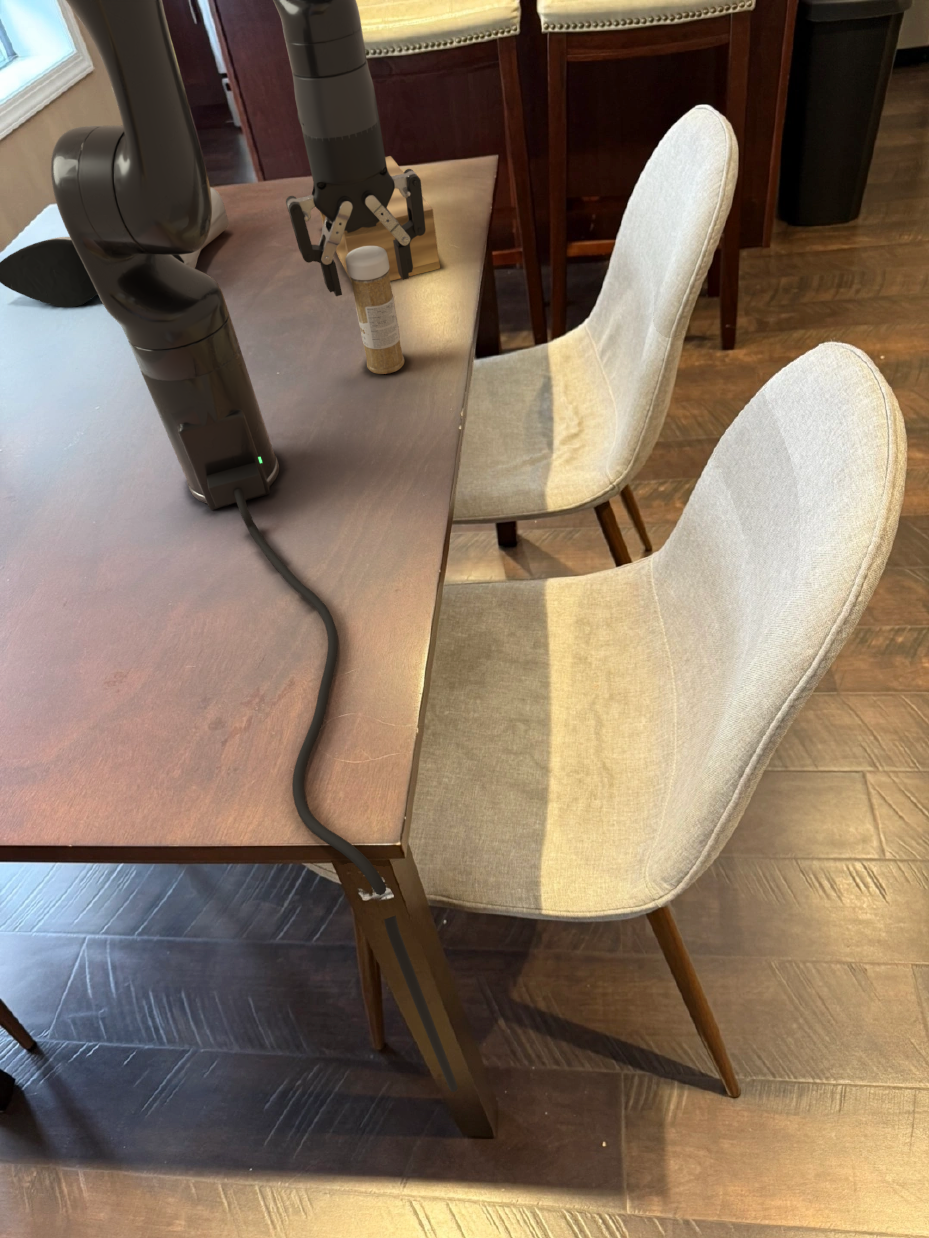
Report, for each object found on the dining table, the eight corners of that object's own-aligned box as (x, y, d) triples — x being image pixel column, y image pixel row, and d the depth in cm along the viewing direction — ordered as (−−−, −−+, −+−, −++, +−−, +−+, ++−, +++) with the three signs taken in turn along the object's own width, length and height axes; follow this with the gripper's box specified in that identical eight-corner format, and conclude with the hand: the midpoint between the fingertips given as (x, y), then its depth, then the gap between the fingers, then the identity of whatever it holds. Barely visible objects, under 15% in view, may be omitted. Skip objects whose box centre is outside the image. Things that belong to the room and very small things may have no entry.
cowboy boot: (163, 250, 112) (233, 176, 129) (-28, 237, 116) (64, 167, 133) (182, 317, 119) (246, 239, 136) (1, 303, 123) (85, 229, 140)
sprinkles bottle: (365, 359, 104) (343, 248, 94) (403, 352, 104) (384, 241, 94) (369, 379, 100) (345, 266, 91) (407, 372, 101) (388, 259, 91)
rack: (440, 268, 118) (432, 208, 112) (355, 289, 116) (343, 229, 111) (399, 211, 133) (390, 155, 127) (323, 229, 131) (311, 173, 125)
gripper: (273, 148, 79) (314, 316, 91) (421, 115, 81) (443, 283, 93) (260, 124, 84) (301, 286, 96) (401, 94, 86) (423, 256, 98)
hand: (371, 284), depth 95 cm, fingers open, 7 cm apart
